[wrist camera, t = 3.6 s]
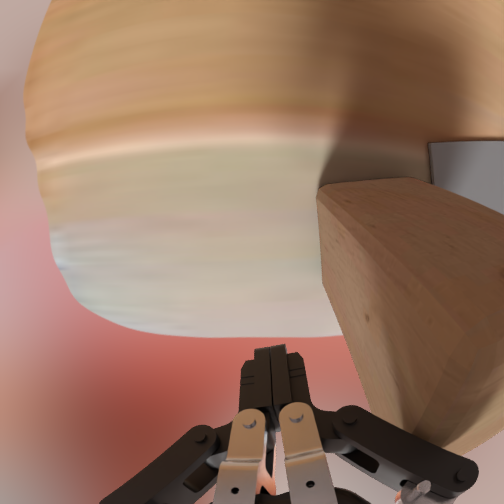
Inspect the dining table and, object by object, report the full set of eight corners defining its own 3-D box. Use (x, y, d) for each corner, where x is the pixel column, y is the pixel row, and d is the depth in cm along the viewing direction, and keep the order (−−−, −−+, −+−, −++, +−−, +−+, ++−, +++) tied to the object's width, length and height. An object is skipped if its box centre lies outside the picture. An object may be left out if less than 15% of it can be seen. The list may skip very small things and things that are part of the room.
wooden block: (312, 183, 22) (480, 353, 4) (413, 174, 22) (601, 268, 3) (320, 287, 26) (388, 490, 8) (410, 270, 25) (525, 416, 7)
